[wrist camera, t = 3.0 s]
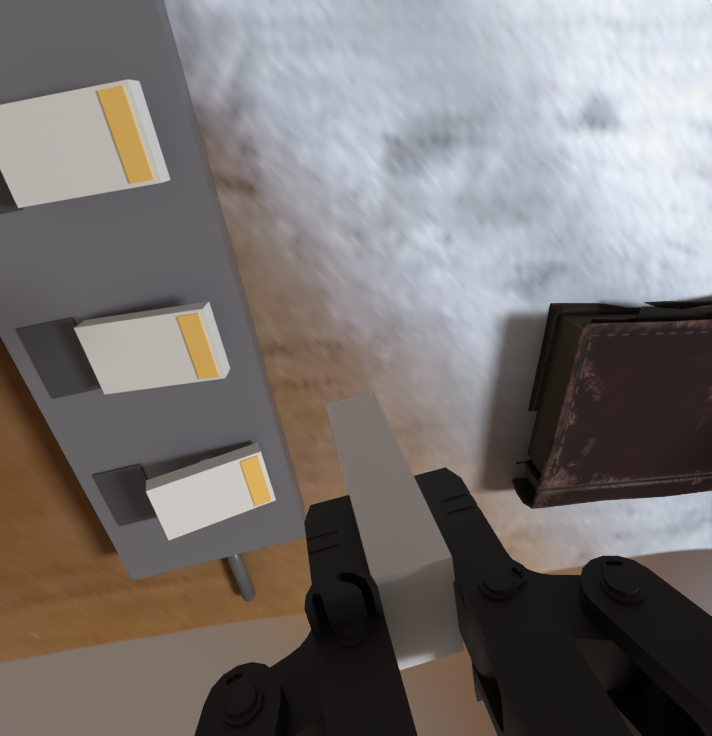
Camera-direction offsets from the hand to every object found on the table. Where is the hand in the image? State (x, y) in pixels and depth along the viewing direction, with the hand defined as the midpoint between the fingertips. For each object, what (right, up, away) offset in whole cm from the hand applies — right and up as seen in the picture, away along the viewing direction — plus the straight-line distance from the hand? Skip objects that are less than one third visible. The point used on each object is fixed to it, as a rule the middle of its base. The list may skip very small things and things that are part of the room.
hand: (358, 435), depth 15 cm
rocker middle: (-12, +4, +14) cm, 19 cm away
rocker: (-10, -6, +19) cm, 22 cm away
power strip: (-14, +1, +20) cm, 24 cm away
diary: (+27, 0, +29) cm, 40 cm away
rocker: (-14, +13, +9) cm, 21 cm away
